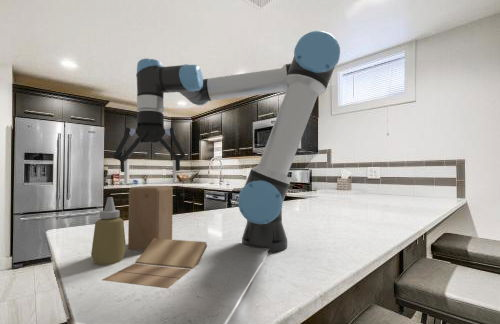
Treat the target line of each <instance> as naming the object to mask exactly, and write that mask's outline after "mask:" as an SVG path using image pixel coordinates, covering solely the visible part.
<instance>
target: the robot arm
mask: <svg viewBox="0 0 500 324" xmlns="http://www.w3.org/2000/svg"><path fill="white" fill-rule="evenodd" d="M293 51H294V52H293V58H292V61H291V63H287V64H284V65H283V66H282V67H280V68H275V69H268V70H265V69H264V70H260V71H259V70H258V71H252V72H245V73H239V74H231V75H224V76H223V75H222V76H216V77H209V78H204V77H203V76H204V75H203V72H202V70H201V67H200V66H198V64H181V65H169V66H164V65H163V63H162V62H161V61H160V60H157V59H155V58H151V59H150V58H148V57H147V58H142V59H140V60H139V61H137V65H136V73H135V74H136V76H135V77H136V90H137V91H136V95H137V96H136V110H137V113H136V128H130V127H128V126H127V127H125V130H124V135H123V137H122V138H121V140H120V143H119V145H118V146H117V149H116V150H115V152H114V154H113V156H112V158H113V159H114V160H118V161H119V163H120V164H119V165H120V169H119V170H120V172H121V173H123V177H124V178H123V183H124V185H125V184H130V161H129V160H128V159H129V158H131V156H132V155H133V154H134V152H135V151H136V150H138V148H139V147H140V146H141V145H142V144H143V143H144V144H158V143H160V144H161V145H162V146H163V147H164V148H165V149H166V150H167V151H168V153H169V154H170V155H171V156H172V157H173V158H174V159H175V160H174V159H173V160H172V182H173V183H176V182H177V172H179V171H180V170H181V160H183V159H185V158H186V157H187V156H186V153H185V152H184V150H183V147H181V145H180V143H179V141H178V138H177V137H176V132H175V129H174V127H170V128H167V129H166V128H165V124H164V123H165V122H164V121H165V119H164V118H165V117H164V113H163V112H164V94H165V93H168V94H169V93H179V94H181V96H183V97H185V99H187V100H188V101H189V102H190V103H192V104H193V105H196V106H203V105H206V104H207V103H208V102H212V101H213V102H214V101H219V100H226V99H227V100H228V99H236V98H243V97H252V96H253V97H254V96H261V95H267V94H268V95H269V94H275V93H285V95H284V98H283V100H282V103H281V105H280V108H279V110H278V113H277V115H276V118H275V121H274V124H273V125H272V128H271V132H270V134H269V137H268V140H267V141H266V145H265V146H264V149H263V152H262V155H261V156H260V160H259V163H258V165H256V166H254V167H251V168H250V171H249V174H248V176H247V179H246V181H245V184H244V186H243V187H242V188H241V189H240V191H239V194H238V196H237V197H238V198H237V200H238V201H237V205H238V210H239V212H240V214H241V215H242V217H244V218H245V220H246V225H245V227H244V231H243V234H242V237H241V244H243V245H245V246H248V247H251V248H257V249H268V250H267V253H274V252H279V251H284V250H286V249H287V248H288V237H287V235H286V231H285V229H284V228H285V227H284V224H283V219H282V218H283V217H282V215H283V203H284V200H285V198H286V195H287V192H288V190H289V187H290V184H291V182H290V179H289V178H288V177H289V176H288V175H289V172H290V170H291V167H292V164H293V162H294V159H295V156H296V153H297V151H298V148H299V146H300V143H301V140H302V138H303V135H304V132H305V130H306V127H307V125H308V122H309V119H310V117H311V114H312V112H313V109H314V106H315V103H316V101H317V99H318V97H319V96H320V95H323V94H325V92H326V90H327V88H328V85H329V83H330V80H331V78H332V75H333V72H334V69H335V67H336V66H337V64H338V63H339V61H340V55H341V48H340V44H339V42H338V40H337V39H336V37H334V36H333V35H332V34H331V33H329V32H326V31H323V30H314V31H310V32H308V33H306V34H304V35H303V36H302V37H300V38H299V39H298V41H297V42H296V45H295V46H294V50H293ZM135 134H136V135H137V138H136V139H135V140H134V142H133V143H132V144H131V145H130V146H129V148H128V149H127V150H126V151H125V149H126V148H127V146H128V144H129V142H130V140H131V137H132V136H134V135H135ZM166 134H167V136H168V137H171V140H172V141H173V143H174V145H175V147H176V149H177V151H178V153H179V155H178V154H177V153H176V152H175V150H173V148H171V146H170V145H169V144H168V143H167V142H166V141H165V140H164V138H163V137H164V136H165V135H166ZM124 151H125V152H124Z"/></svg>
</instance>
